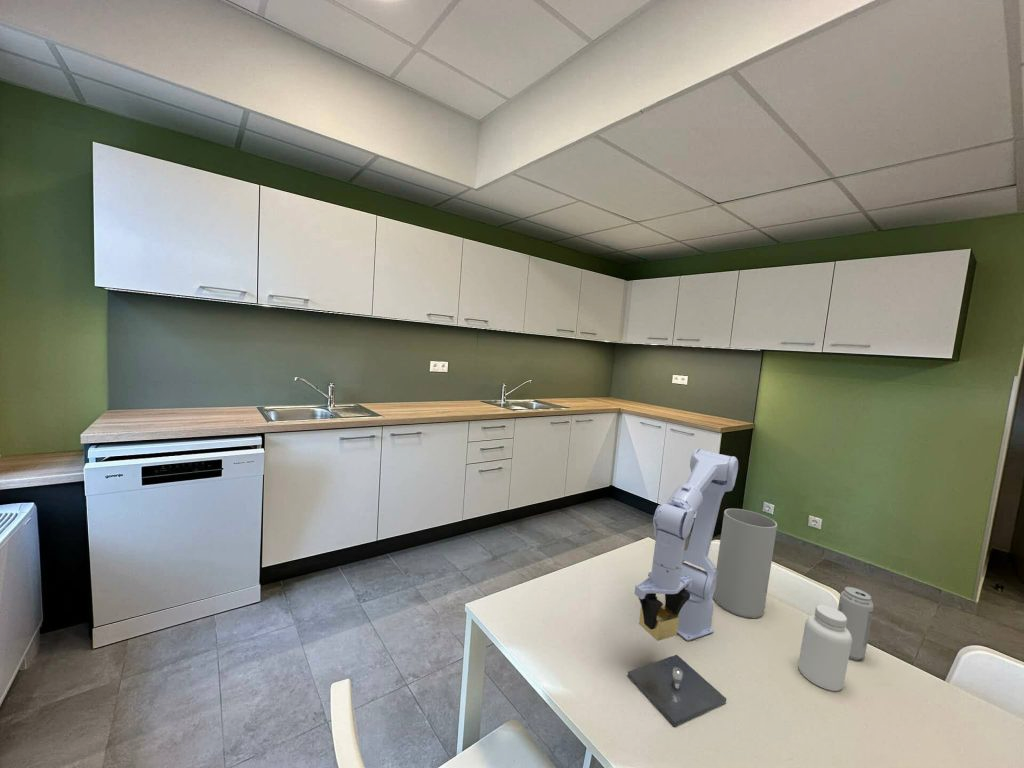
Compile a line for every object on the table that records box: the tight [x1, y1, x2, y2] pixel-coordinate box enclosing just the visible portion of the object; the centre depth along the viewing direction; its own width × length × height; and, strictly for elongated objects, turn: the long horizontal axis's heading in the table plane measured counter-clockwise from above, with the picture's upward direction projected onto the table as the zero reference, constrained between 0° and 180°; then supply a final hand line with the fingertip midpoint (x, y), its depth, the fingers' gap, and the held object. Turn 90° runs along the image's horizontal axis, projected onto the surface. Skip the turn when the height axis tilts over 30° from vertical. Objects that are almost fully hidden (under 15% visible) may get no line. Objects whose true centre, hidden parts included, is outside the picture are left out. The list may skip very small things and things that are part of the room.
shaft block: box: [627, 654, 727, 728], centre depth 80 cm, size 14×12×4 cm
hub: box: [638, 604, 679, 642], centre depth 86 cm, size 5×5×4 cm
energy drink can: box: [837, 586, 874, 661], centre depth 96 cm, size 6×6×15 cm
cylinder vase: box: [712, 508, 778, 619], centre depth 111 cm, size 12×12×25 cm
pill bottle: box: [797, 604, 852, 692], centre depth 87 cm, size 8×8×15 cm
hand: (659, 623), depth 86 cm, fingers closed on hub, 5 cm apart
